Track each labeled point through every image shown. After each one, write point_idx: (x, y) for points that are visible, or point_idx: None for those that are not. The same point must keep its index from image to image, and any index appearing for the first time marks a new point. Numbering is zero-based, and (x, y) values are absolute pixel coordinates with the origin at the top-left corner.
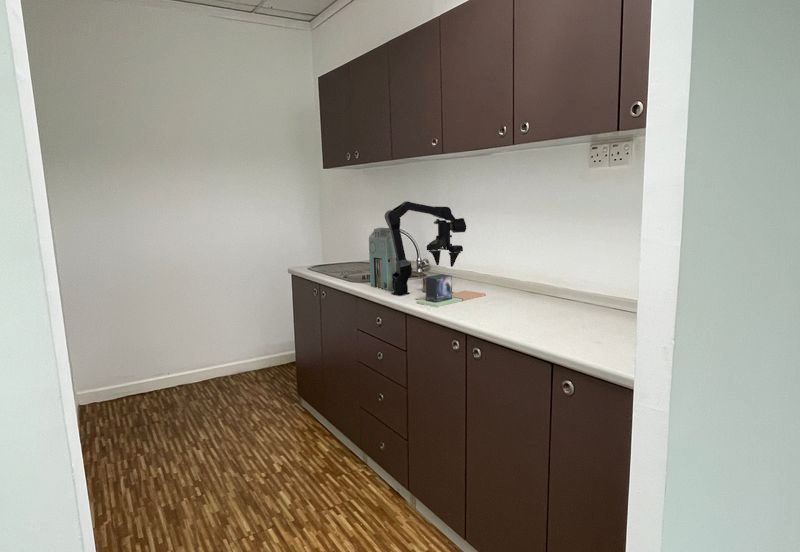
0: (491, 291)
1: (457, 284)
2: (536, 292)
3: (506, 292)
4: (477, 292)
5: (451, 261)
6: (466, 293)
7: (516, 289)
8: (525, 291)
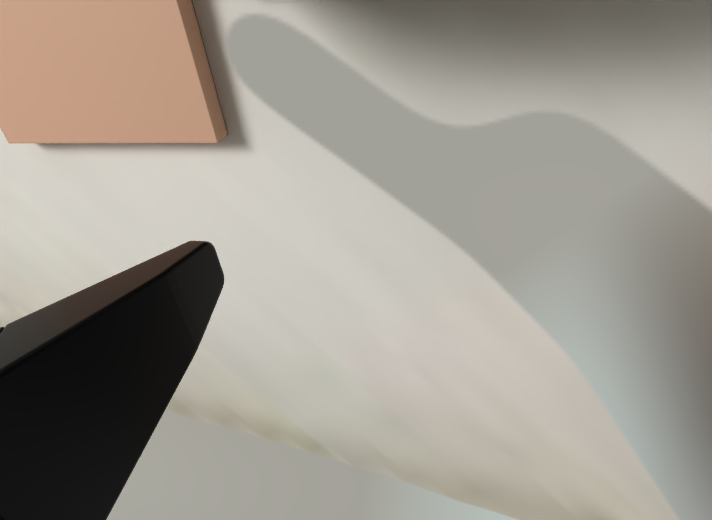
0: None
1: (590, 395)
2: None
3: None
4: (74, 135)
5: (64, 303)
6: (64, 15)
7: None
8: None
